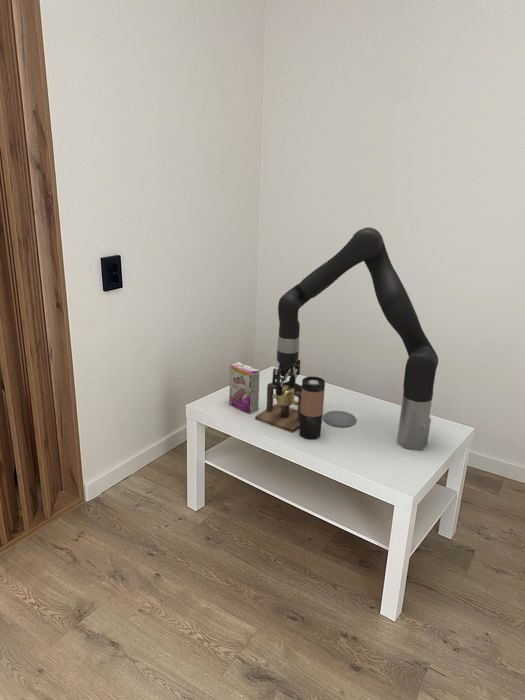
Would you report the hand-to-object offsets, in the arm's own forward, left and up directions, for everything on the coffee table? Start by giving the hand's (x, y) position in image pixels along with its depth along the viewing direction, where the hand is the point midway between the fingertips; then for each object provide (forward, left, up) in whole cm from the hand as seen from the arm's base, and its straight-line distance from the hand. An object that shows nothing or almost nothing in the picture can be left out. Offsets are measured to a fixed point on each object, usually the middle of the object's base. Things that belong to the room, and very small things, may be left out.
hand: (285, 391), depth 195 cm
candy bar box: (+17, +2, -11) cm, 20 cm away
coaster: (-16, -12, -11) cm, 23 cm away
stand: (0, 0, -11) cm, 11 cm away
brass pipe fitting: (0, 0, -4) cm, 4 cm away
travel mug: (-13, +4, -11) cm, 18 cm away
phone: (+10, -24, -11) cm, 28 cm away
